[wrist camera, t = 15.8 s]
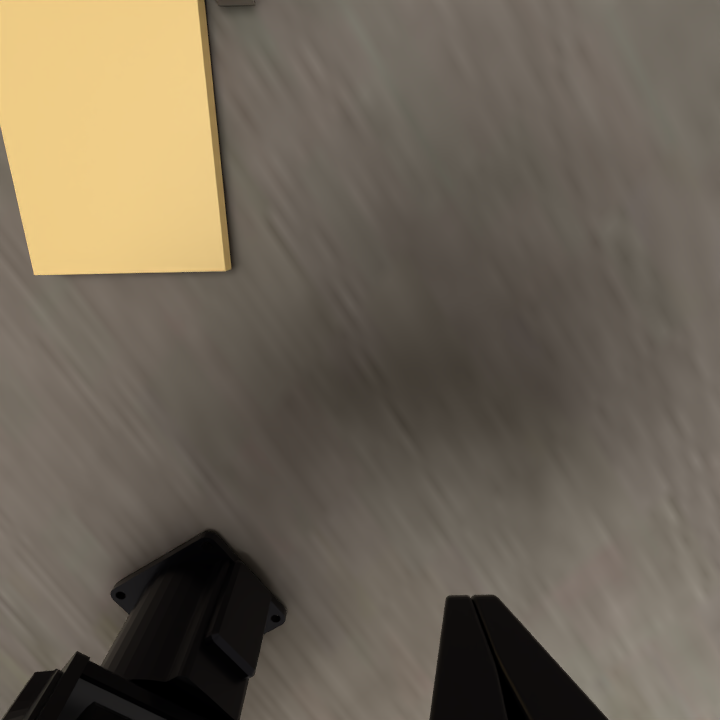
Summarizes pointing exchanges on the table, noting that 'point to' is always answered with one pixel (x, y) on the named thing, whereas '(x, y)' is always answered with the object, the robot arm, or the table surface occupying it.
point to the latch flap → (113, 135)
